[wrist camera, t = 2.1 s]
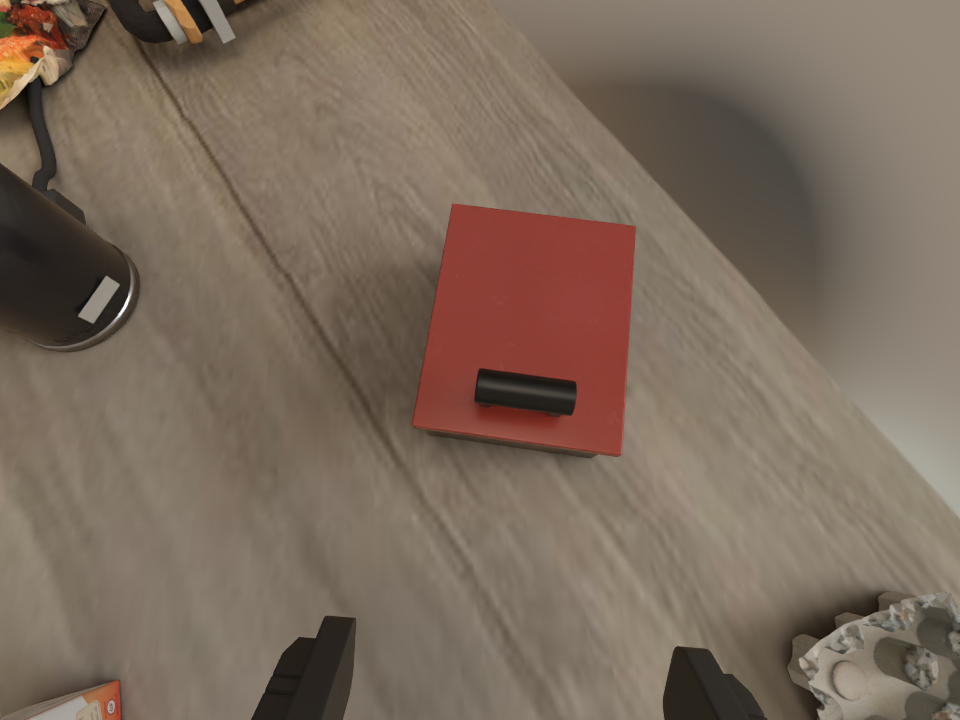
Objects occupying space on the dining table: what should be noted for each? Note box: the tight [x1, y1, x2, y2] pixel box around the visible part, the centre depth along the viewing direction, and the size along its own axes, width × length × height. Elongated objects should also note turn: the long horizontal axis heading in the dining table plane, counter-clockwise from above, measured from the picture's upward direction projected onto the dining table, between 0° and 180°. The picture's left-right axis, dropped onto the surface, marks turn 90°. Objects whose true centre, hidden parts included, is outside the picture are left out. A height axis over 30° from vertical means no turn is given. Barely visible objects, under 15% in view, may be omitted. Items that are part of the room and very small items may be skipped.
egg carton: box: [787, 591, 960, 720], centre depth 31 cm, size 11×8×4 cm
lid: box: [412, 204, 636, 457], centre depth 29 cm, size 15×12×5 cm
